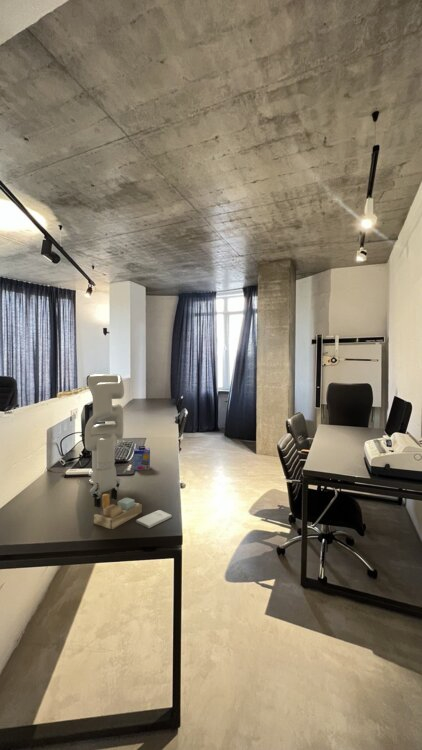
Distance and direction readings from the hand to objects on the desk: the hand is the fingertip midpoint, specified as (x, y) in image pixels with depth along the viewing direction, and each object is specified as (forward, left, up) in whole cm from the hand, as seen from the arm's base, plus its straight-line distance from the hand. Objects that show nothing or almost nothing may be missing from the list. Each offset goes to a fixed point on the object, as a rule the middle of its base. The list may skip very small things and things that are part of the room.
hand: (106, 502), depth 148 cm
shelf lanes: (+11, -4, -3) cm, 12 cm away
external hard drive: (+25, +2, -3) cm, 26 cm away
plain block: (+12, -8, -3) cm, 14 cm away
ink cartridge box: (-24, +52, -3) cm, 57 cm away
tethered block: (+6, 0, -3) cm, 7 cm away
